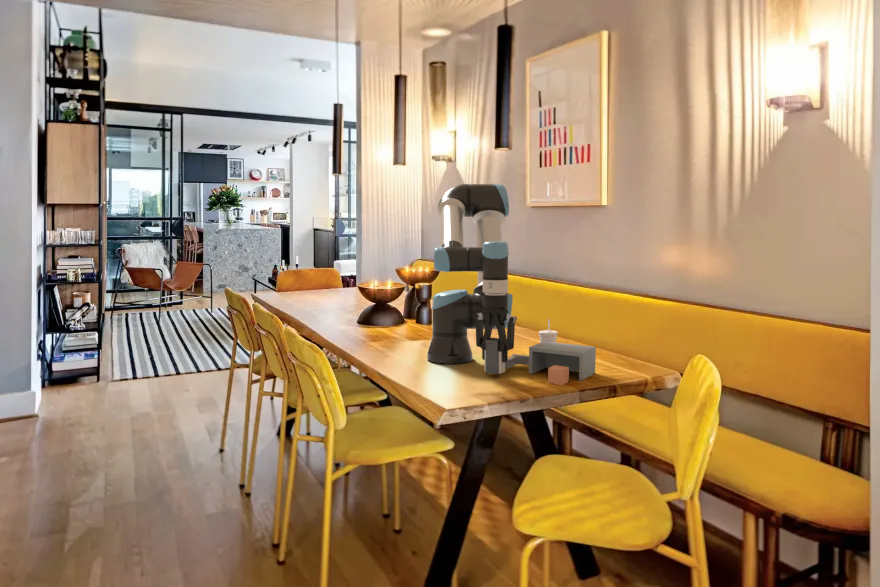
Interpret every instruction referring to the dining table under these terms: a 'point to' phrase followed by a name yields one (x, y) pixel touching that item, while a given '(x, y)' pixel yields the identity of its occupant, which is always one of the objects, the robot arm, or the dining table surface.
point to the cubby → (563, 357)
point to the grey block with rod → (493, 357)
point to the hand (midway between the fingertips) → (494, 371)
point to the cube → (558, 374)
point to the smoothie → (548, 334)
